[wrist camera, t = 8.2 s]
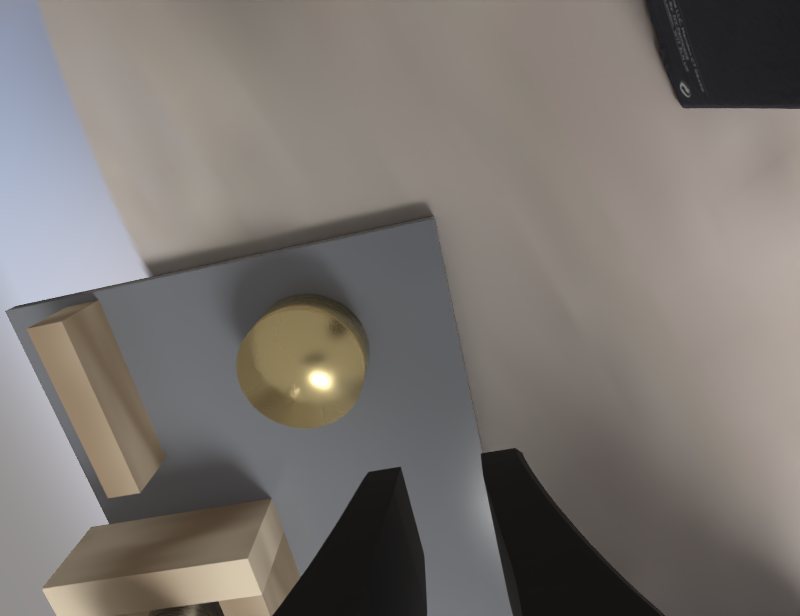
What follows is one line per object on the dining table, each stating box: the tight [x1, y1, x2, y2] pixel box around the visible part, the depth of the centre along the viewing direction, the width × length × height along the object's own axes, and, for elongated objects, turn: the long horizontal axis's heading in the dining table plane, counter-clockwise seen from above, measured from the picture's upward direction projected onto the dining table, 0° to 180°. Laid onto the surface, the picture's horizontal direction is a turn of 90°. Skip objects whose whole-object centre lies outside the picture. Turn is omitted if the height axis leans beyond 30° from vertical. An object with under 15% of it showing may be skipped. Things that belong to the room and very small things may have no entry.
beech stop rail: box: [27, 300, 166, 498], centre depth 19 cm, size 1×6×2 cm, turn 12°
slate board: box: [5, 216, 513, 616], centre depth 21 cm, size 15×17×1 cm
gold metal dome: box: [236, 294, 369, 428], centre depth 18 cm, size 4×4×2 cm
